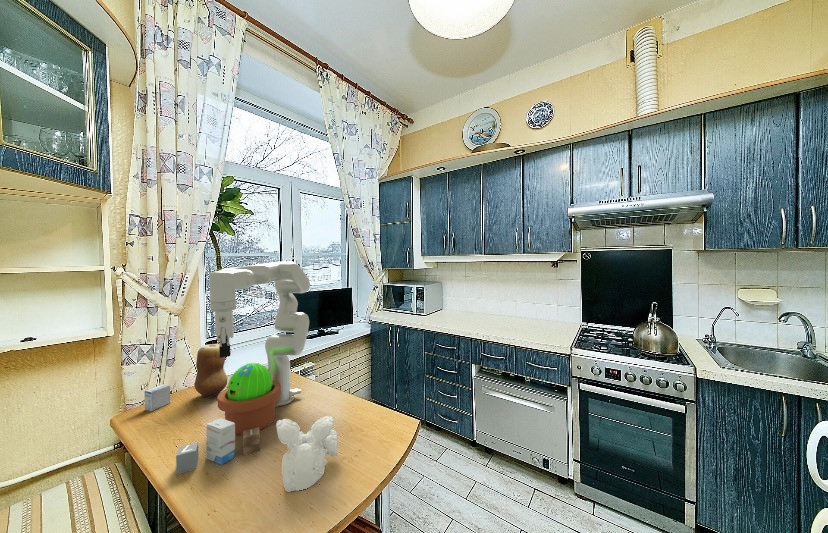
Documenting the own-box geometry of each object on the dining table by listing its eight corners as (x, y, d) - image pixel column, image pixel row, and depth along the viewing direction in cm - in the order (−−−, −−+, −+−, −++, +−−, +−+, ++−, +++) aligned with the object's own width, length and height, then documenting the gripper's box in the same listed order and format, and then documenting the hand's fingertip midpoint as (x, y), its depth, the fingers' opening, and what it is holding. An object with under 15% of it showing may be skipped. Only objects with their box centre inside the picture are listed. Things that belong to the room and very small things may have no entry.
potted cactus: (255, 405, 135) (254, 351, 134) (292, 415, 126) (291, 357, 126) (205, 431, 114) (204, 368, 114) (245, 445, 106) (244, 376, 105)
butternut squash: (232, 393, 147) (231, 344, 146) (201, 404, 136) (200, 351, 135) (219, 387, 154) (218, 340, 154) (188, 397, 143) (187, 346, 142)
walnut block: (259, 443, 107) (259, 426, 107) (259, 450, 103) (259, 433, 103) (243, 447, 105) (243, 430, 105) (243, 455, 100) (242, 437, 100)
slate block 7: (198, 459, 98) (198, 441, 98) (196, 468, 94) (195, 450, 94) (179, 465, 96) (179, 446, 96) (176, 474, 91) (176, 455, 91)
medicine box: (163, 402, 139) (163, 383, 138) (170, 403, 137) (170, 384, 137) (144, 410, 131) (144, 391, 131) (151, 411, 130) (151, 392, 130)
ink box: (236, 456, 100) (236, 422, 100) (221, 465, 95) (221, 429, 95) (220, 449, 103) (220, 416, 103) (205, 458, 99) (204, 423, 99)
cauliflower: (268, 479, 77) (277, 408, 93) (271, 511, 87) (279, 442, 103) (342, 466, 83) (339, 402, 99) (336, 497, 93) (334, 434, 109)
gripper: (234, 308, 100) (236, 361, 101) (236, 301, 113) (237, 348, 114) (208, 310, 96) (210, 365, 97) (212, 303, 109) (214, 352, 110)
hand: (225, 356), depth 106 cm, fingers closed
